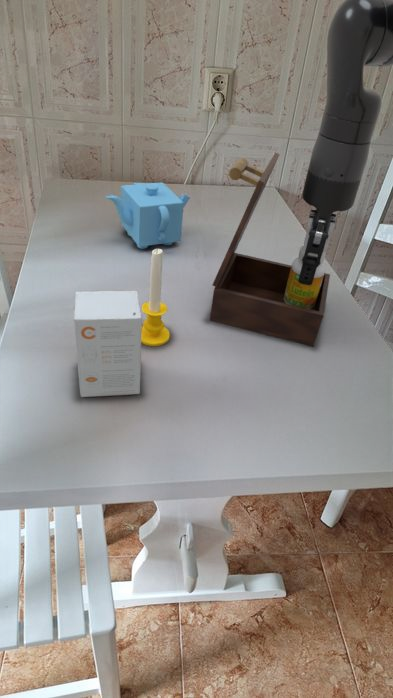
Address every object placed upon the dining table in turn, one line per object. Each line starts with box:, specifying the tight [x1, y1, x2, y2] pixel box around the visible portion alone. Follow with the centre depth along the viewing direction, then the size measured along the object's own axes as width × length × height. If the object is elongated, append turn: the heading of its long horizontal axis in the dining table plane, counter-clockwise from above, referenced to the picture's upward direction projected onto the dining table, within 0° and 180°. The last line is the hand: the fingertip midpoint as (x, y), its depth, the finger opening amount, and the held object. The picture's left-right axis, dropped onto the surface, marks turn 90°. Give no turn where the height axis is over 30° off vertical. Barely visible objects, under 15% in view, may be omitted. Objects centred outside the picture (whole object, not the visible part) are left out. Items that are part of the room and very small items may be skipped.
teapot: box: [104, 181, 191, 249], centre depth 99 cm, size 16×18×11 cm
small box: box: [73, 290, 143, 398], centre depth 64 cm, size 8×6×13 cm
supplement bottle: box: [284, 245, 326, 309], centre depth 80 cm, size 5×5×10 cm
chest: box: [209, 252, 331, 348], centre depth 84 cm, size 18×14×6 cm
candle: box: [141, 246, 171, 347], centre depth 72 cm, size 5×5×16 cm
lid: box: [212, 152, 280, 288], centre depth 77 cm, size 18×14×5 cm
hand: (306, 274), depth 79 cm, fingers closed on supplement bottle, 5 cm apart
